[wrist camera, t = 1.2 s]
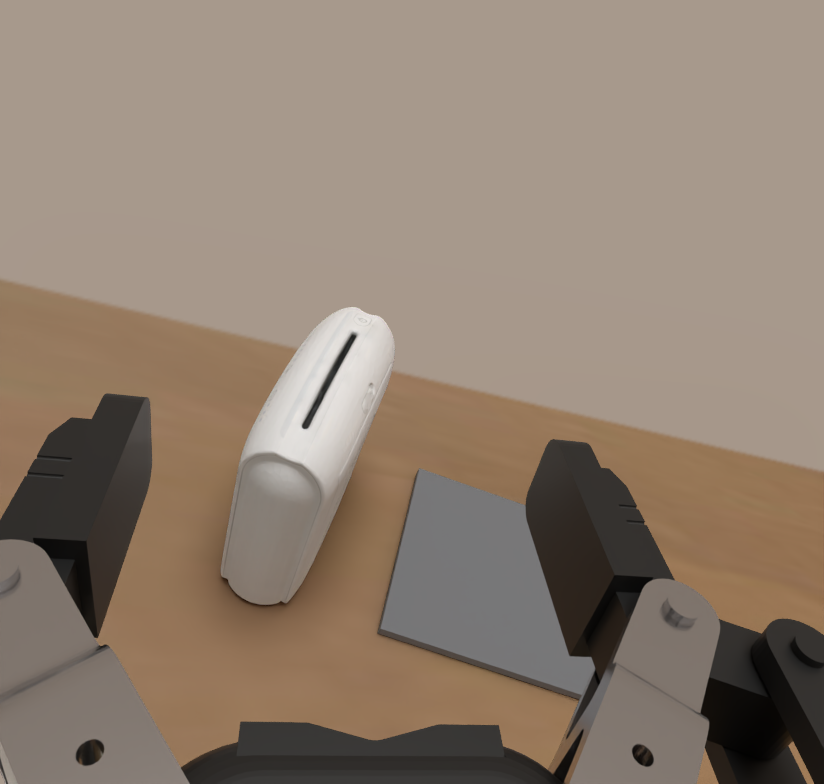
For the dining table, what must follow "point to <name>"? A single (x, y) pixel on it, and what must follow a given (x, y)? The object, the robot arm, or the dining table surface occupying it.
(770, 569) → the dining table surface
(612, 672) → the robot arm
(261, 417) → the photo printer
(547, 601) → the rubber mat
